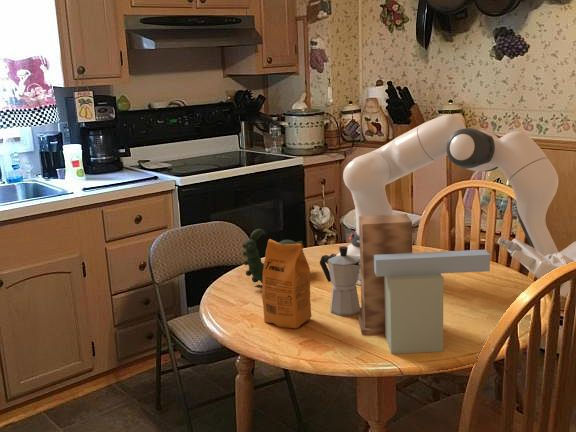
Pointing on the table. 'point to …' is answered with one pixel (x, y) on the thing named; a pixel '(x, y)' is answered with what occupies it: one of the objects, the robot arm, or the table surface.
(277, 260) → the coffee package
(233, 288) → the table surface
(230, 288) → the table surface
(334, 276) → the coffee maker
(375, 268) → the rail
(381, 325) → the walnut stand
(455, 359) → the table surface
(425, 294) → the step block
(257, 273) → the toy figurine
